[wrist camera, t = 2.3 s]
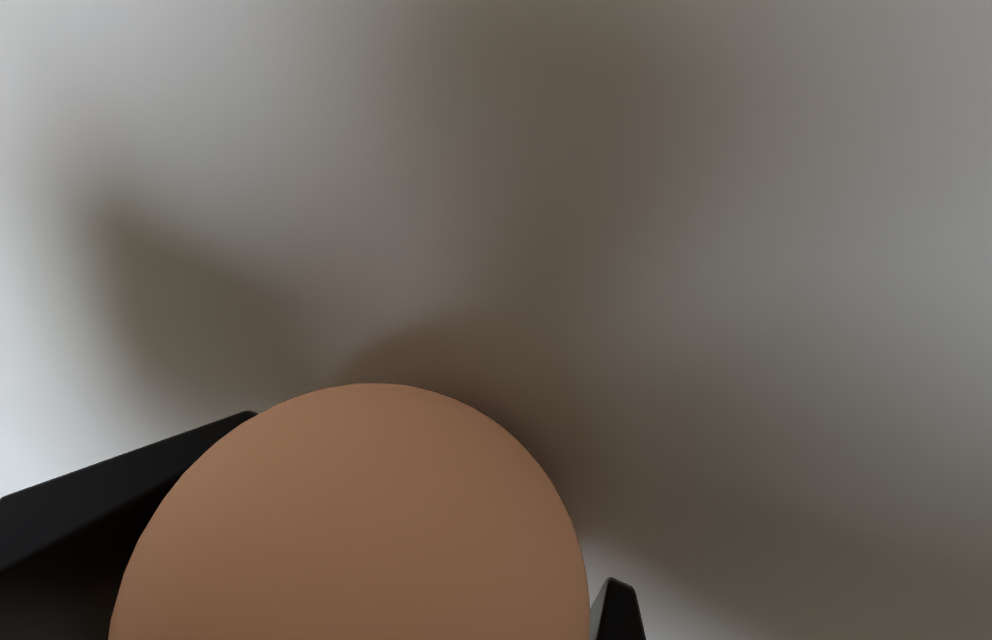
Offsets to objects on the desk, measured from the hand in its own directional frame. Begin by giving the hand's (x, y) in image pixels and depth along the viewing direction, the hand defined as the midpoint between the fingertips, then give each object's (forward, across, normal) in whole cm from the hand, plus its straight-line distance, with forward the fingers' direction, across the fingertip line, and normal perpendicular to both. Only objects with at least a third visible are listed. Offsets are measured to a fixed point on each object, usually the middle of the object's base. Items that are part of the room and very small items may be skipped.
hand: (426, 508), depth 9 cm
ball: (+1, 0, 0) cm, 1 cm away
